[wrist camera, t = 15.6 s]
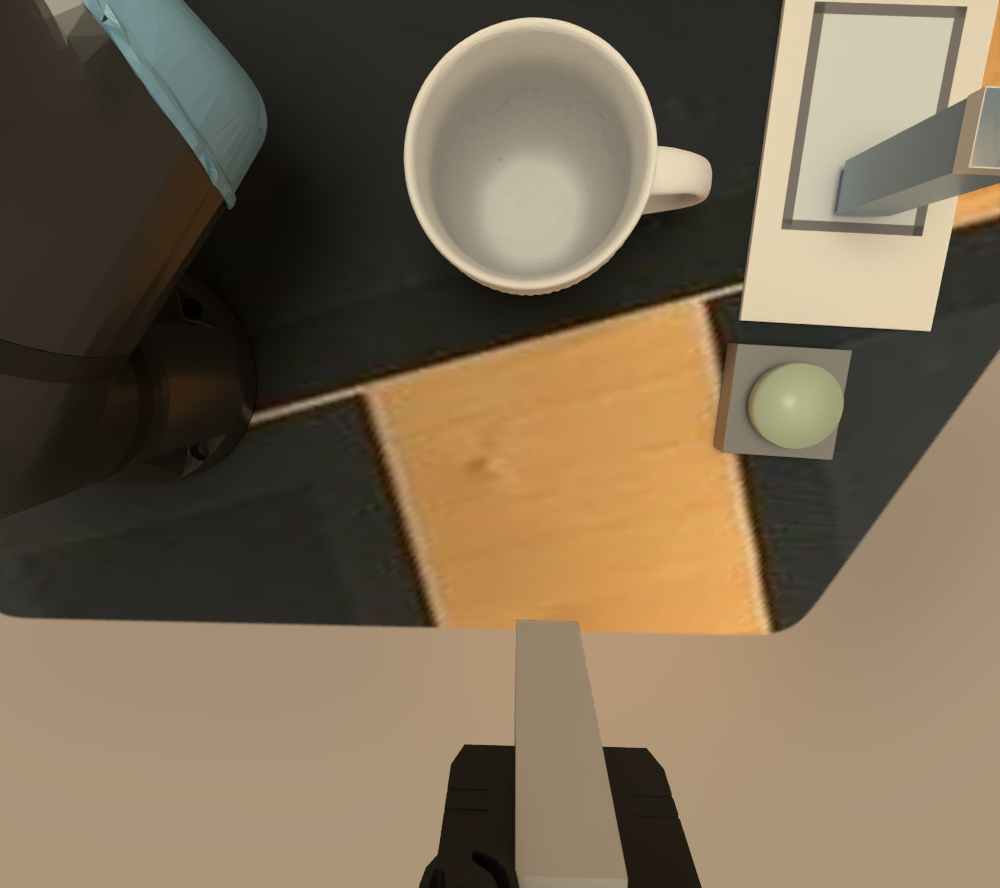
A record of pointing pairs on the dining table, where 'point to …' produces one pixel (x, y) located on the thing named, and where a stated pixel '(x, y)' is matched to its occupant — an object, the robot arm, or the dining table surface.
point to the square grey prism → (927, 160)
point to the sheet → (842, 135)
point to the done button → (795, 405)
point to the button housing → (739, 381)
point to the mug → (538, 156)
